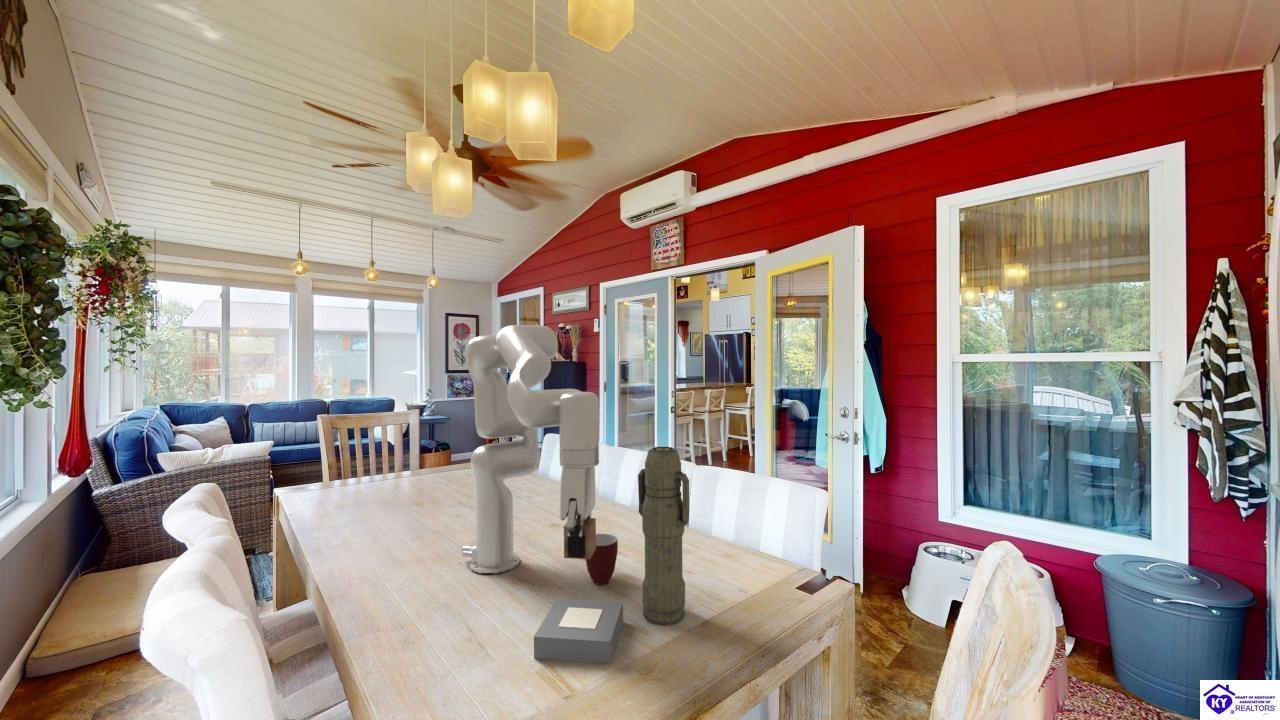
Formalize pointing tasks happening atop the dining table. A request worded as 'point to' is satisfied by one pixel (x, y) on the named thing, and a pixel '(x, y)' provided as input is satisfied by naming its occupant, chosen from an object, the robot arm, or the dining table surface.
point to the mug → (603, 559)
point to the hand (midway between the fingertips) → (580, 549)
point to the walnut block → (589, 538)
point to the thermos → (663, 534)
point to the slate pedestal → (579, 631)
